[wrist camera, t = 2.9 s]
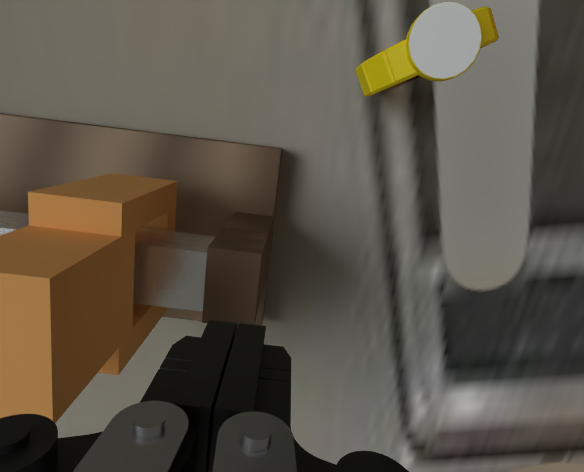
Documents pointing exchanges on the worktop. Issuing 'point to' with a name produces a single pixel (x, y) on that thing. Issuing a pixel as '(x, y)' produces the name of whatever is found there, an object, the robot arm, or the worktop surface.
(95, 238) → the collar
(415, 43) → the watch
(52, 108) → the worktop surface
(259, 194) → the rig
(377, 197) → the worktop surface
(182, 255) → the grey square bar
